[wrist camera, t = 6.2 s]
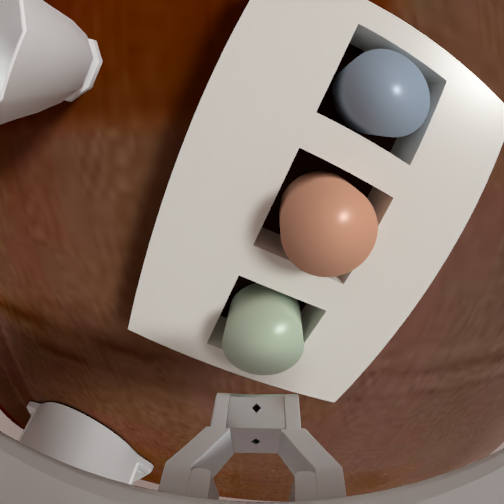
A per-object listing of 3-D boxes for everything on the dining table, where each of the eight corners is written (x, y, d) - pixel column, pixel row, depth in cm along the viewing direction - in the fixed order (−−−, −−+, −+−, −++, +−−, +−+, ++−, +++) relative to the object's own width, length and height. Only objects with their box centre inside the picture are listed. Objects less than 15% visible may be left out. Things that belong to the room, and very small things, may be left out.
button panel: (329, 372, 21) (334, 402, 18) (145, 302, 19) (127, 329, 16) (482, 111, 12) (512, 113, 10) (273, -13, 11) (272, -38, 8)
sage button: (280, 348, 18) (280, 383, 15) (219, 325, 18) (211, 359, 15) (312, 298, 16) (319, 332, 14) (246, 271, 16) (240, 301, 13)
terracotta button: (335, 261, 15) (347, 290, 13) (265, 230, 15) (263, 254, 12) (372, 194, 14) (394, 210, 11) (301, 156, 13) (307, 164, 11)
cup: (118, 115, 14) (16, 121, 7) (9, 134, 15) (-77, 156, 8) (128, 6, 12) (45, -42, 4) (15, 46, 12) (-67, 41, 5)
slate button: (386, 148, 14) (409, 154, 11) (319, 111, 14) (330, 107, 11) (414, 87, 12) (441, 81, 10) (349, 48, 12) (365, 32, 9)
